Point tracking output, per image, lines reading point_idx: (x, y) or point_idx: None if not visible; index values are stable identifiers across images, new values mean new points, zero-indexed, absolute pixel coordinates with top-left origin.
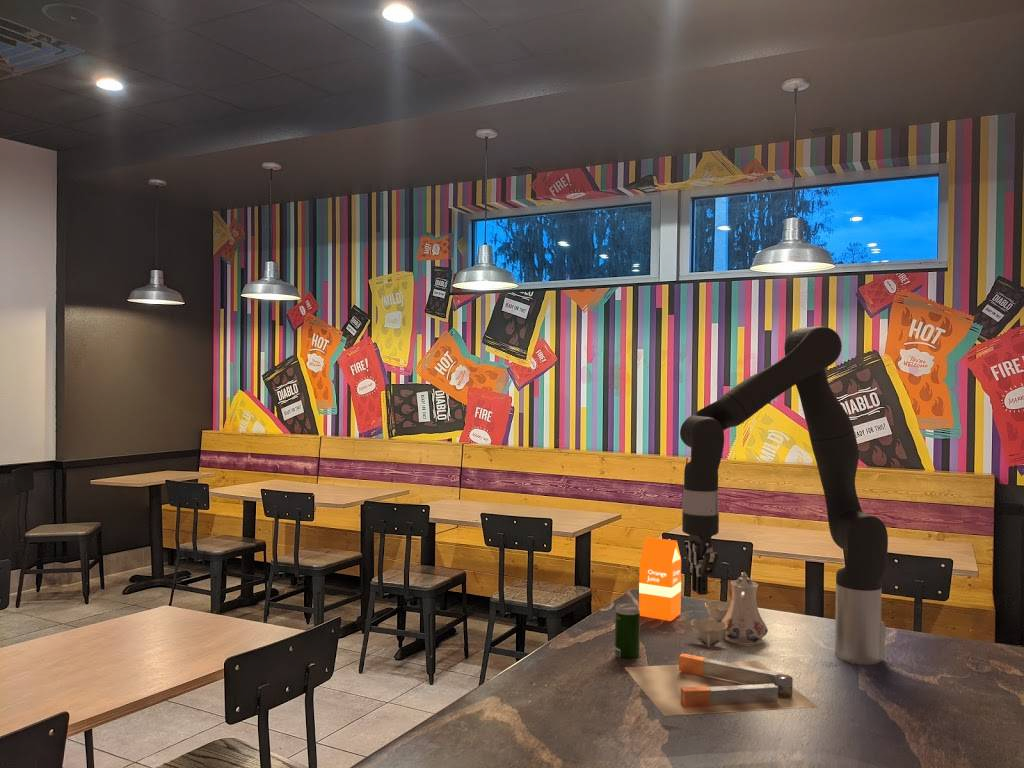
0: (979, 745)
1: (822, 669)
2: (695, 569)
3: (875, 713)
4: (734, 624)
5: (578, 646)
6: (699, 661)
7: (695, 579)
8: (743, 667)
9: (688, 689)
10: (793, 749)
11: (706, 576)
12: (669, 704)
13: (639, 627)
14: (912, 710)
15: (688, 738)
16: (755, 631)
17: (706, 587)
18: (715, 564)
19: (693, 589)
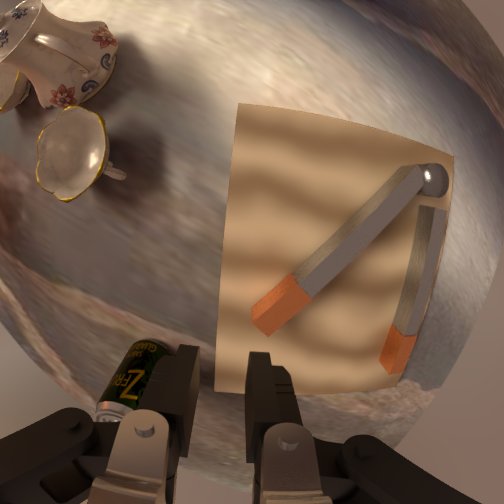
0: (498, 67)
1: (278, 7)
2: (174, 472)
3: (447, 79)
4: (74, 84)
5: (89, 386)
6: (305, 303)
7: (191, 423)
8: (373, 226)
9: (399, 366)
10: (486, 260)
11: (318, 446)
12: (374, 374)
13: (143, 386)
14: (439, 33)
15: (427, 363)
16: (109, 47)
17: (291, 387)
18: (454, 491)
19: (197, 390)
